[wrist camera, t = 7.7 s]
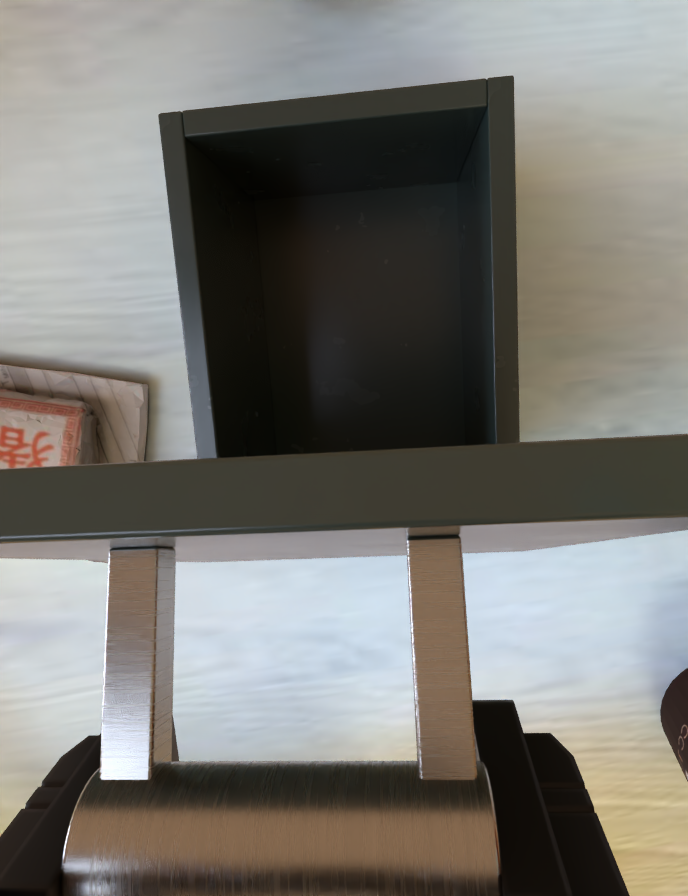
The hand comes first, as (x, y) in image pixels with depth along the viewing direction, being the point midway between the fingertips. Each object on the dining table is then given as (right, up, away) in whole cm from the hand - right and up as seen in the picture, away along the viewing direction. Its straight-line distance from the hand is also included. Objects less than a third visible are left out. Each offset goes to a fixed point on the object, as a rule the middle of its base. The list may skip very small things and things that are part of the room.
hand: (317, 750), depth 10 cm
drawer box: (+1, +11, +21) cm, 24 cm away
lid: (0, +4, +4) cm, 5 cm away
